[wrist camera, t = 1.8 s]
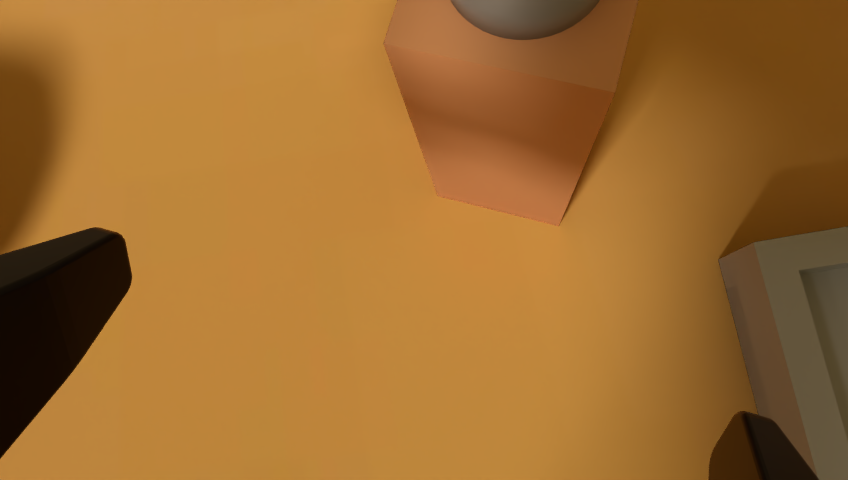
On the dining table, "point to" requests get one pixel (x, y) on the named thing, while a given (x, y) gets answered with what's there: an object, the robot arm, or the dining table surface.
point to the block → (508, 93)
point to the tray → (797, 339)
